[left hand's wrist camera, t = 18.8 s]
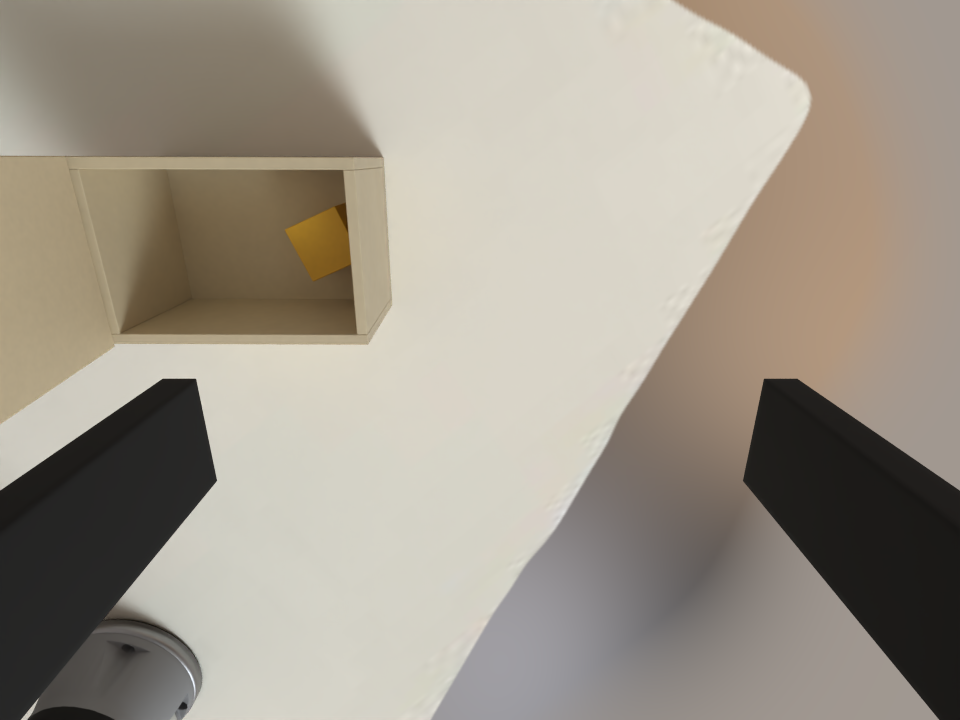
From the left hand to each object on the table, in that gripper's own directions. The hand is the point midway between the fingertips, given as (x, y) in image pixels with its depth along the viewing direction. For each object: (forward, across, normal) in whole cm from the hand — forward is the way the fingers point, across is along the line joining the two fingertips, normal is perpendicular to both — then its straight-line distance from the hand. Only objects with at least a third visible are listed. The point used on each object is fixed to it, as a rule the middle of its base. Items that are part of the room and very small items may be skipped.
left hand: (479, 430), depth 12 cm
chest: (+33, +16, 0) cm, 37 cm away
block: (+32, +11, 0) cm, 34 cm away
